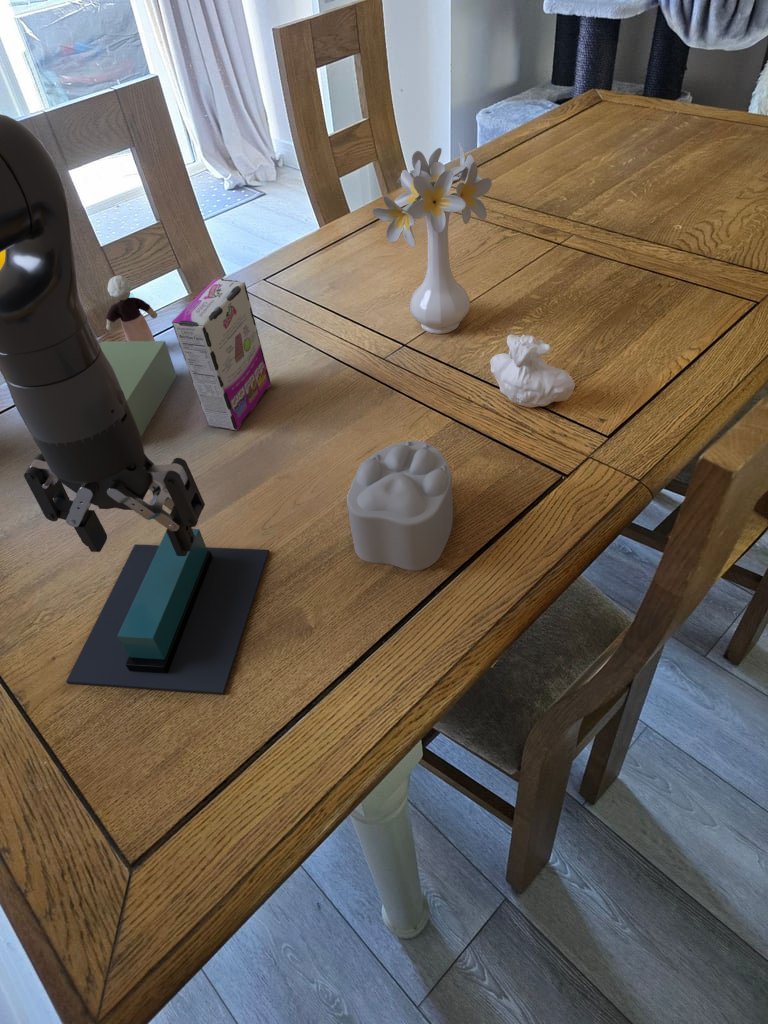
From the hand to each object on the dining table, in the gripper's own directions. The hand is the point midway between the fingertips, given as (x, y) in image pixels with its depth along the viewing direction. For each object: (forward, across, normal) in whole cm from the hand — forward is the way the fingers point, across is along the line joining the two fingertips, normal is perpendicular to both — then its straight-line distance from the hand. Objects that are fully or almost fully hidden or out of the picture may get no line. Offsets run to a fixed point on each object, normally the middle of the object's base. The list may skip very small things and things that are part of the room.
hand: (142, 547), depth 66 cm
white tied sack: (+10, +37, +38) cm, 54 cm away
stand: (+10, -20, +35) cm, 41 cm away
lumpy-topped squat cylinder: (+10, +23, +14) cm, 29 cm away
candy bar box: (+11, -3, +36) cm, 38 cm away
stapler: (+10, 0, 0) cm, 10 cm away
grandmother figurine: (+11, -23, +50) cm, 56 cm away
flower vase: (+10, +24, +57) cm, 63 cm away
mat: (+10, 0, 0) cm, 10 cm away
